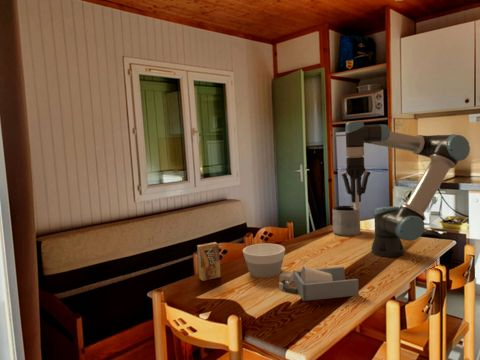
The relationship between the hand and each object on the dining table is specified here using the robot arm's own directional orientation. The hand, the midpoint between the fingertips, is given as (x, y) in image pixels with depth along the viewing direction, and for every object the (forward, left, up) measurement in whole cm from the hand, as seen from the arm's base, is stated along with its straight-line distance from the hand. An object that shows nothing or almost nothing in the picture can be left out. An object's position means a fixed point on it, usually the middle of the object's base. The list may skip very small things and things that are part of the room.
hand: (356, 209), depth 173 cm
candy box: (+67, -3, -27) cm, 72 cm away
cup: (+20, +22, -23) cm, 38 cm away
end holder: (+22, +22, -26) cm, 41 cm away
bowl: (+42, -4, -27) cm, 50 cm away
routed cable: (+36, +16, -26) cm, 47 cm away
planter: (-17, -58, -27) cm, 66 cm away
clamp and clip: (+36, +12, -26) cm, 46 cm away
